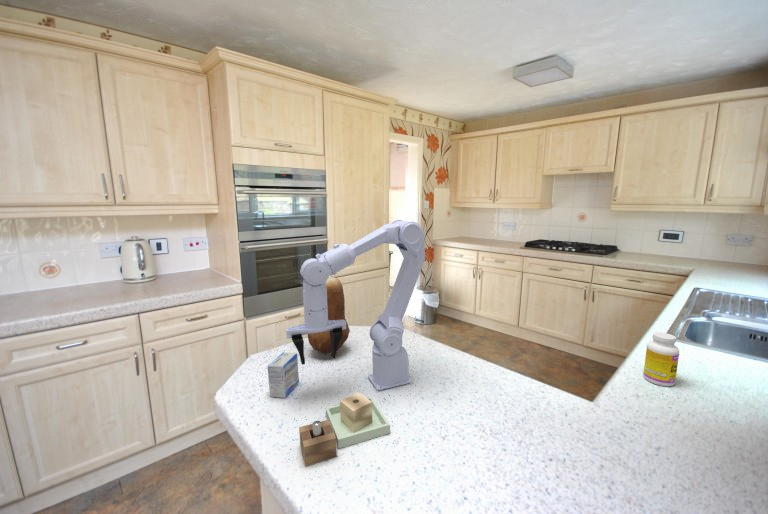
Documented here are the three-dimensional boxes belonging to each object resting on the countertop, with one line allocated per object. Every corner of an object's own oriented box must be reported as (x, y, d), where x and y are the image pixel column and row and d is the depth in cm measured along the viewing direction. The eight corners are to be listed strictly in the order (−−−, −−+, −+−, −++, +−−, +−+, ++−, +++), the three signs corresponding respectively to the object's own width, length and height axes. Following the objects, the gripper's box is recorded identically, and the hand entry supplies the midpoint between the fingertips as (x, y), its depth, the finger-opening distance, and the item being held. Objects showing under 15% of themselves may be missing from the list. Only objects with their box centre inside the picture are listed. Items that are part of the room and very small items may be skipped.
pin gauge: (321, 446, 66) (319, 419, 66) (322, 452, 65) (321, 424, 64) (313, 449, 66) (311, 421, 65) (314, 454, 64) (313, 426, 63)
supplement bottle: (672, 390, 84) (678, 342, 82) (640, 380, 89) (645, 335, 87) (676, 381, 89) (683, 335, 87) (646, 371, 94) (651, 328, 92)
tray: (371, 404, 80) (371, 396, 80) (390, 433, 70) (390, 424, 70) (325, 416, 76) (325, 408, 76) (338, 448, 66) (338, 439, 66)
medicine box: (285, 399, 83) (283, 366, 82) (269, 397, 84) (266, 365, 83) (299, 382, 91) (297, 352, 89) (284, 380, 92) (282, 351, 90)
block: (359, 412, 77) (358, 392, 76) (372, 422, 73) (371, 401, 72) (340, 421, 74) (340, 400, 73) (353, 432, 70) (353, 411, 69)
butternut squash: (314, 343, 116) (310, 273, 112) (352, 343, 116) (350, 273, 111) (303, 362, 102) (299, 283, 98) (346, 362, 102) (344, 283, 98)
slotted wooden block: (329, 436, 69) (328, 419, 69) (336, 456, 64) (335, 438, 63) (300, 445, 67) (299, 427, 66) (305, 466, 62) (304, 447, 61)
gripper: (340, 299, 88) (341, 348, 90) (283, 307, 82) (286, 358, 84) (347, 307, 81) (349, 359, 83) (286, 315, 76) (290, 371, 78)
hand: (318, 359), depth 83 cm, fingers open, 7 cm apart
